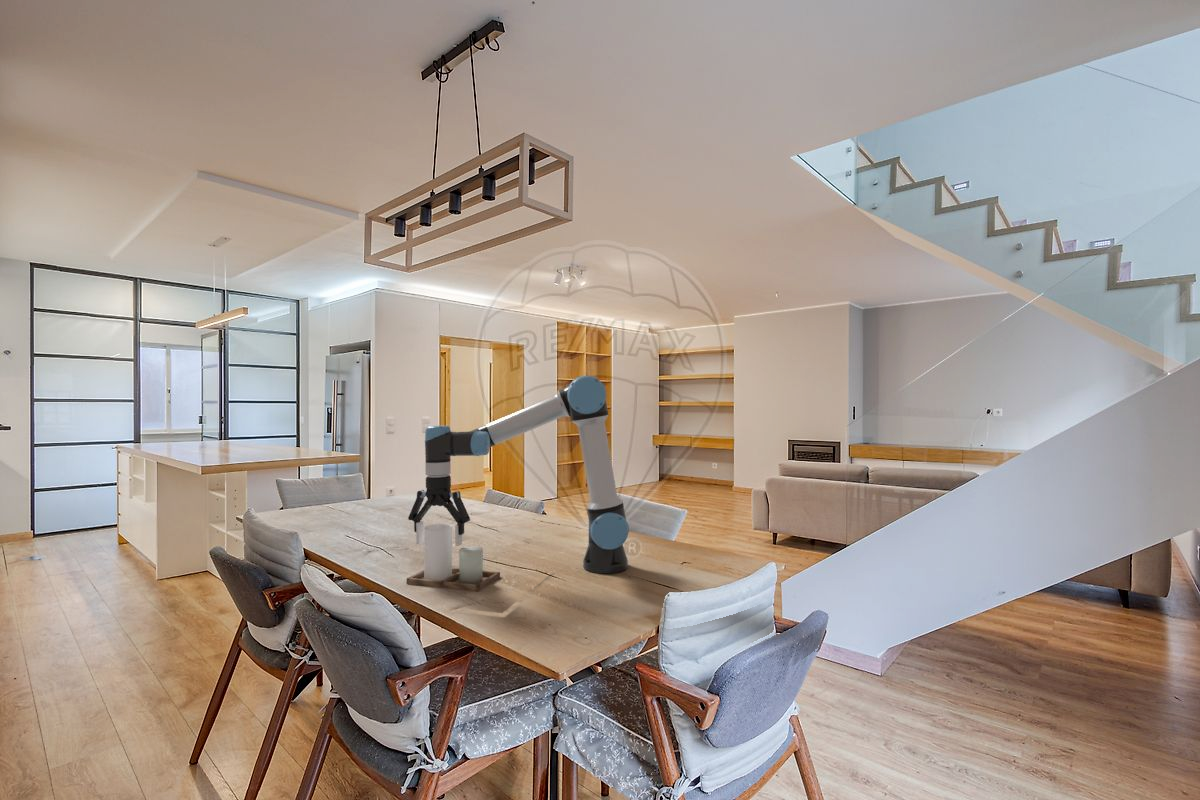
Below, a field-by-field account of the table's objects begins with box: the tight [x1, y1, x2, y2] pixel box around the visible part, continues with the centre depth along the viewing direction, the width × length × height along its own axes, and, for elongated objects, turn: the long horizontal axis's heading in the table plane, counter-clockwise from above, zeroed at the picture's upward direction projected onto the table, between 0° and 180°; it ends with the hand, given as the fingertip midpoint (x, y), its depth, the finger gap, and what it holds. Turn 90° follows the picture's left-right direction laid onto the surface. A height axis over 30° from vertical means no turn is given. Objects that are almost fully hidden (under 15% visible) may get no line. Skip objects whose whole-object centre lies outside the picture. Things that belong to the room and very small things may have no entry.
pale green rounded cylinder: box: [458, 545, 484, 585], centre depth 172 cm, size 7×7×10 cm
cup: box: [423, 523, 453, 581], centre depth 175 cm, size 8×8×16 cm
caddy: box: [406, 567, 501, 592], centre depth 173 cm, size 24×14×2 cm, turn 74°
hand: (439, 544), depth 175 cm, fingers open, 13 cm apart
